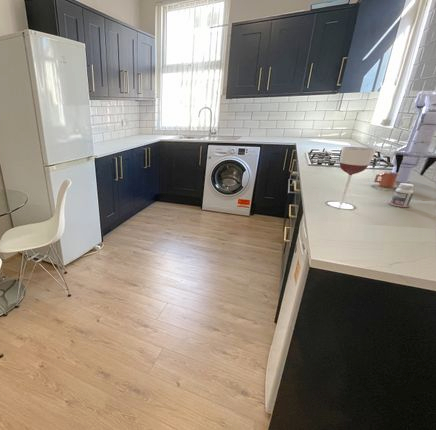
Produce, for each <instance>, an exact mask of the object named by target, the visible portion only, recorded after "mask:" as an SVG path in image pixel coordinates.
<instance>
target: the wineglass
mask: <svg viewBox="0 0 436 430" xmlns="http://www.w3.org/2000/svg"><path fill="white" fill-rule="evenodd" d="M376 150H377V149H375V148H371V147H361V146H342V148H341V153H340V157H339V167H340V169H341V171H343V172H345V173H346V174H347V175H348V176H347V179H346V183H345V184H344V185H345V186H344V188H343V191H342V194H341V198H340V201H329V202H327V205H329V206H330V207H333V208H335V209H336V208H337V209H342V210H353V209H355V208H354V206H353V205H351V204H349V203H345V202H344V201H345V197H346V193H347V191H348V188H349V185H350V181H351V179H352V176H353V175H356V174H360V173H362V172H364V171H365V170H366V169H367V168H368V167H369V165H370V163H371V162H372V159H373V158H374V156H375V153H376V152H377V151H376Z"/></svg>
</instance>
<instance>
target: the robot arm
mask: <svg viewBox="0 0 436 430" xmlns="http://www.w3.org/2000/svg"><path fill="white" fill-rule="evenodd" d="M412 108H413V109H412V110H413V111H415V112H416V118H415V120H414V123H413V125H412V128H411V131H410V133H409V136H408V139H407V141H406V144H405V145H404V146H401V147H399V148H397V149H396V150H393V152H392V156H393V157H392V161H391V164H392V165H394V166H393V167H392V170H391V172H393V173H397V174H398V177H397V179H396V182H395V183H399V184H400V183H407V184H409V181H410V178H411V176H412V173H413V170H414V168H416V167H418V166H419V165H420V164H421V162H422V160H423V159H425V162H424V164H423V167H422V169H421V171H420V173H419V175H420V176H423V175H424V174H425V173H426V172H427V170H428V169H429V168H430V167H432V166H433V165H434V164H435V163H436V153H433V152H429V149H430V147H431V145H432V143H433V140H434V137H435V136H436V91H420V92H419V91H418V93H417V95H416V97H415V100H414V103H413V106H412Z"/></svg>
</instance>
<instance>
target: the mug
mask: <svg viewBox="0 0 436 430" xmlns="http://www.w3.org/2000/svg"><path fill="white" fill-rule="evenodd" d="M379 177H380V179H379ZM397 177H398V174H397V173H393V172H392V171H382V173H381V174H376V175H375V177H374V180H373V182H374V183H378V184H377V186H378V187H381V188H387V189H393V188H394V187H395V184H396V183H397V182H396V179H397ZM378 179H379V180H378Z"/></svg>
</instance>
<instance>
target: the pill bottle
mask: <svg viewBox="0 0 436 430" xmlns="http://www.w3.org/2000/svg"><path fill="white" fill-rule="evenodd" d="M414 187H415V185H414V184H412V183H399V186H398V187H397V188H396V189H395V190H394V192H393V195H392V198H391V201H390V205H391V206H395V207H399V208H408V207H409V205H410V204H411V203H410V202H411V200H412V198H413V195H414V190H413V189H414Z"/></svg>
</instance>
